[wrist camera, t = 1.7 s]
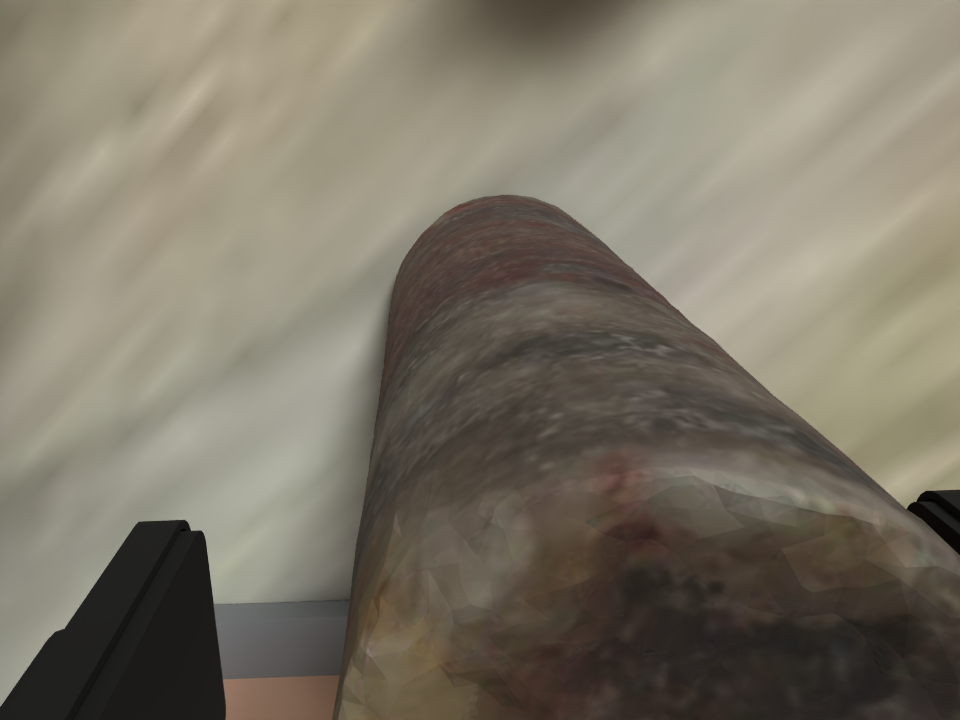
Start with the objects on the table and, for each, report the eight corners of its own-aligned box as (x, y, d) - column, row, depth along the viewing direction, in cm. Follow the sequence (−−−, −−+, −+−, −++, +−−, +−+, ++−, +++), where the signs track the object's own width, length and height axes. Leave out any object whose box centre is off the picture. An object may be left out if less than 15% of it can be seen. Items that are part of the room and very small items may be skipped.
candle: (652, 353, 27) (1132, 906, 8) (464, 450, 28) (510, 1160, 9) (552, 150, 25) (892, 273, 6) (351, 261, 26) (107, 673, 7)
